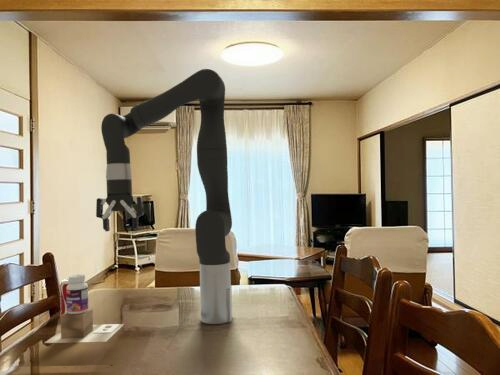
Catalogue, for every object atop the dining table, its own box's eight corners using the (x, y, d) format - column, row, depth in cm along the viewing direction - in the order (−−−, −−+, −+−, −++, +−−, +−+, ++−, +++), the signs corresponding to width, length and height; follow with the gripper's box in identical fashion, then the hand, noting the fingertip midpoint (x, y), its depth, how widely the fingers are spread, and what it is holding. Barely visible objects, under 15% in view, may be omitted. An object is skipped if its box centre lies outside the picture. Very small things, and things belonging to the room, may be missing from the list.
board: (124, 328, 119) (124, 324, 119) (106, 346, 105) (106, 341, 105) (69, 329, 119) (69, 325, 119) (44, 347, 105) (43, 342, 105)
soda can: (72, 321, 127) (71, 282, 127) (57, 320, 128) (56, 282, 128) (82, 316, 132) (81, 278, 133) (67, 315, 133) (66, 278, 134)
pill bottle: (62, 314, 109) (61, 277, 109) (75, 308, 115) (74, 273, 115) (80, 315, 108) (79, 278, 108) (92, 309, 113) (91, 274, 113)
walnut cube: (93, 330, 114) (92, 308, 114) (83, 338, 108) (83, 315, 108) (71, 330, 114) (70, 309, 114) (61, 338, 108) (60, 315, 108)
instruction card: (120, 324, 118) (120, 323, 118) (111, 333, 111) (111, 331, 111) (102, 325, 119) (102, 324, 119) (92, 333, 112) (93, 332, 112)
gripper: (144, 178, 133) (146, 228, 133) (100, 180, 133) (102, 230, 133) (138, 177, 125) (140, 230, 125) (91, 179, 125) (93, 232, 125)
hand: (120, 230), depth 129 cm, fingers open, 8 cm apart
